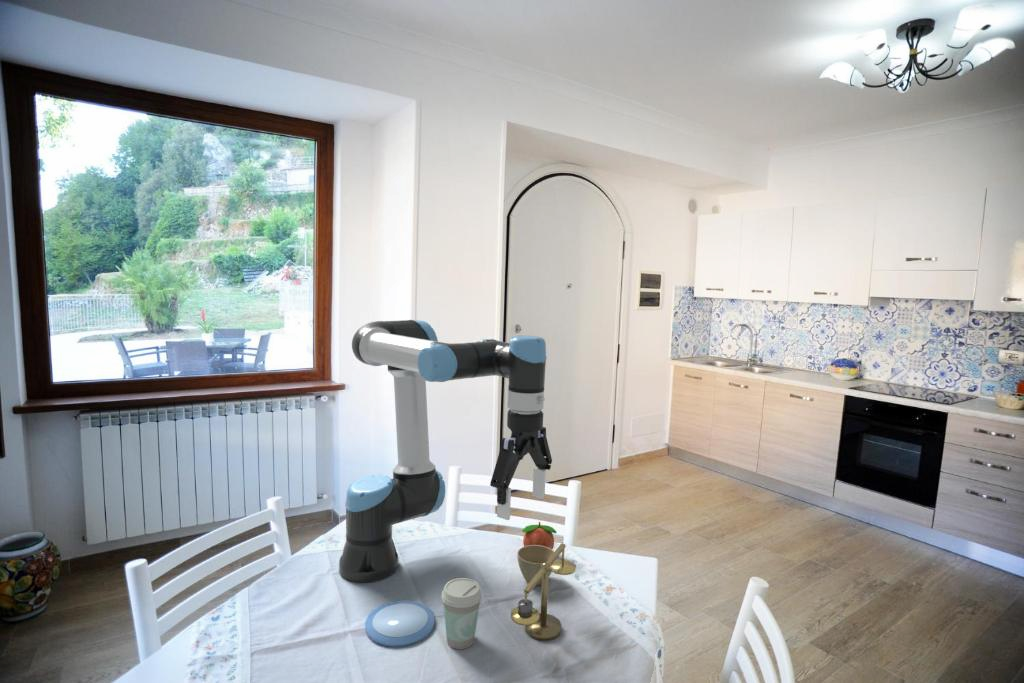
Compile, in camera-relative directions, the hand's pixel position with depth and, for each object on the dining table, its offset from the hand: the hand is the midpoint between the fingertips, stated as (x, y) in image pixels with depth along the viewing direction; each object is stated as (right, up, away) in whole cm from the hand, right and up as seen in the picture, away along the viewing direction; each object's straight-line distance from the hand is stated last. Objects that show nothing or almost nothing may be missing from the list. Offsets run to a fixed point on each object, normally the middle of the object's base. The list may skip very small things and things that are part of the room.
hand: (521, 507), depth 119 cm
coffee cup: (-13, -28, 0) cm, 31 cm away
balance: (+5, -28, +4) cm, 29 cm away
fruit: (+5, -25, +37) cm, 45 cm away
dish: (-27, -27, +4) cm, 38 cm away
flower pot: (+4, -26, +24) cm, 36 cm away
